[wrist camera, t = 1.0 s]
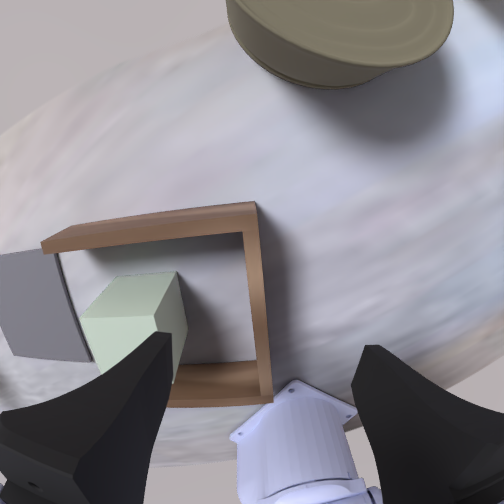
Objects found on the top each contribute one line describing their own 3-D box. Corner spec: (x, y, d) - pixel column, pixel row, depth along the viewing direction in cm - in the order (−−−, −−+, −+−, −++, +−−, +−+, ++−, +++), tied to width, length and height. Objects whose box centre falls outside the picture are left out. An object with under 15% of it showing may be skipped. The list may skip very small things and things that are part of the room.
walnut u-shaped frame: (269, 366, 23) (274, 402, 19) (116, 372, 23) (100, 403, 19) (254, 201, 19) (257, 213, 15) (71, 225, 19) (40, 242, 15)
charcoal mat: (92, 359, 22) (90, 362, 22) (15, 353, 23) (13, 355, 22) (54, 246, 19) (51, 248, 19) (-20, 258, 19) (-23, 259, 19)
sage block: (188, 328, 22) (173, 383, 16) (132, 331, 22) (104, 381, 16) (176, 271, 20) (153, 315, 15) (116, 276, 20) (79, 318, 15)
